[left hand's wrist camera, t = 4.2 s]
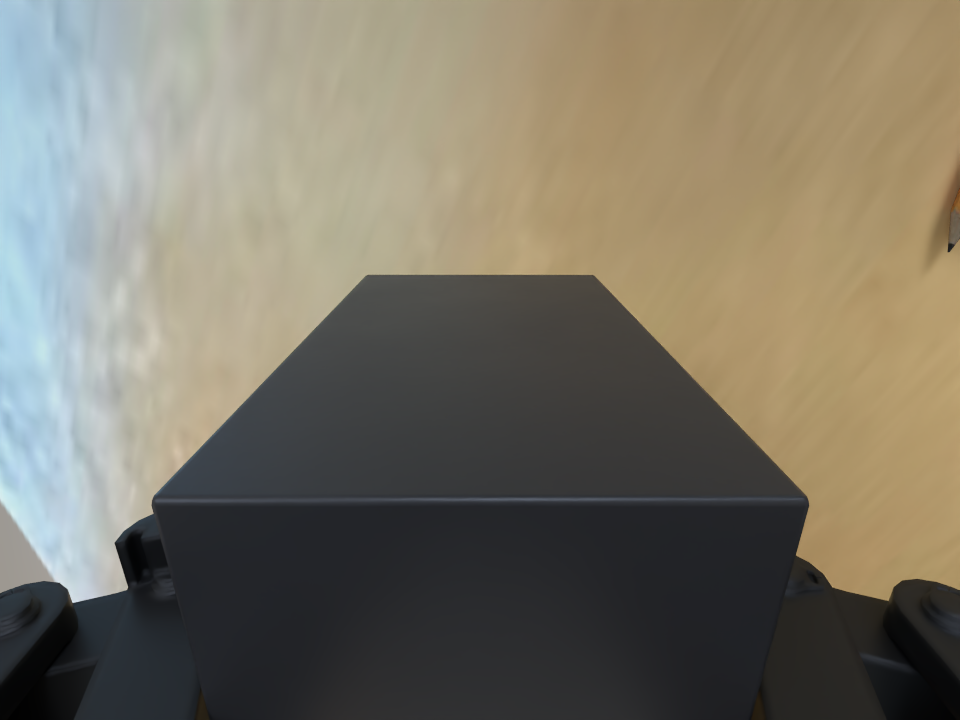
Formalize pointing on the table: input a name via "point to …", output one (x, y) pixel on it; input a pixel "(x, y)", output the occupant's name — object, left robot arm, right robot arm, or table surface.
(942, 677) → the left robot arm
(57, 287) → the table surface
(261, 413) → the bar
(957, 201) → the pencil
